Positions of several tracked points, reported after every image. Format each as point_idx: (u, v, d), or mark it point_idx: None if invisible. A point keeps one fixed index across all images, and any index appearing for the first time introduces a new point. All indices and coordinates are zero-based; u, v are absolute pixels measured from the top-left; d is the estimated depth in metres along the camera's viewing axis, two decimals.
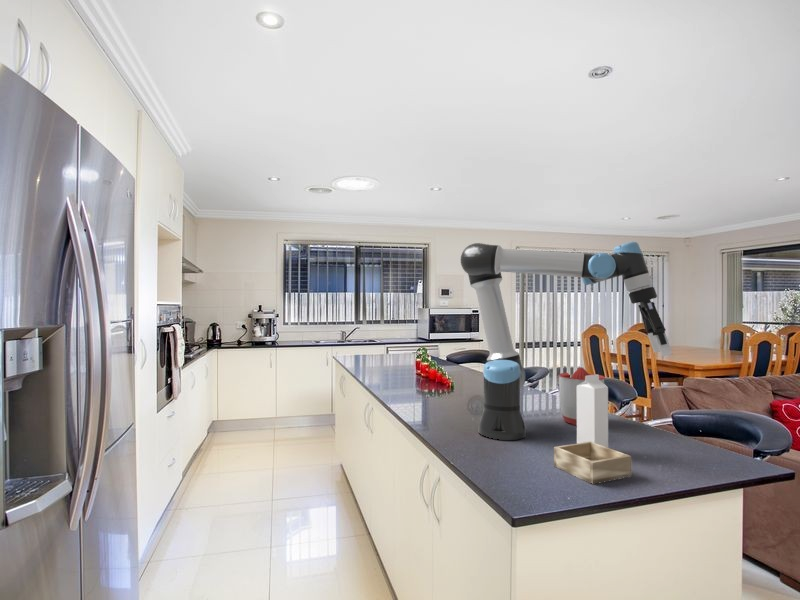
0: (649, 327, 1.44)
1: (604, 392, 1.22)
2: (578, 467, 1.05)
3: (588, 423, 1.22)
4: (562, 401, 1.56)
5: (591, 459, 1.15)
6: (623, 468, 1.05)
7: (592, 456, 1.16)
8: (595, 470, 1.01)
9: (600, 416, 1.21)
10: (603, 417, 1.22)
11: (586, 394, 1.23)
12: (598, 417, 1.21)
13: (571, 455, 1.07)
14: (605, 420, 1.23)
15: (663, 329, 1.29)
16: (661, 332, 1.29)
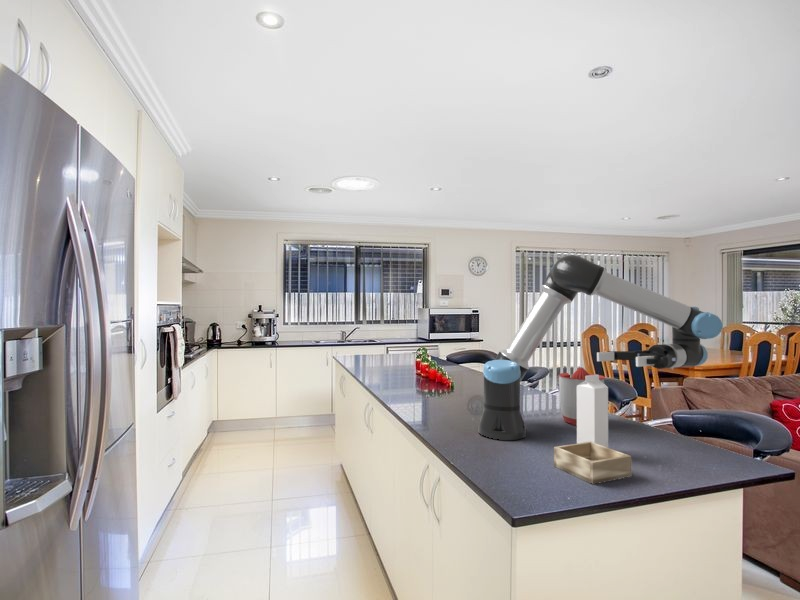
0: (620, 355, 1.37)
1: (604, 393, 1.22)
2: (578, 467, 1.05)
3: (588, 423, 1.22)
4: (562, 401, 1.56)
5: (591, 459, 1.15)
6: (623, 468, 1.05)
7: (592, 456, 1.16)
8: (595, 470, 1.01)
9: (600, 416, 1.21)
10: (604, 417, 1.22)
11: (586, 394, 1.23)
12: (598, 417, 1.21)
13: (571, 455, 1.07)
14: (605, 420, 1.23)
15: (667, 364, 1.22)
16: (662, 362, 1.23)
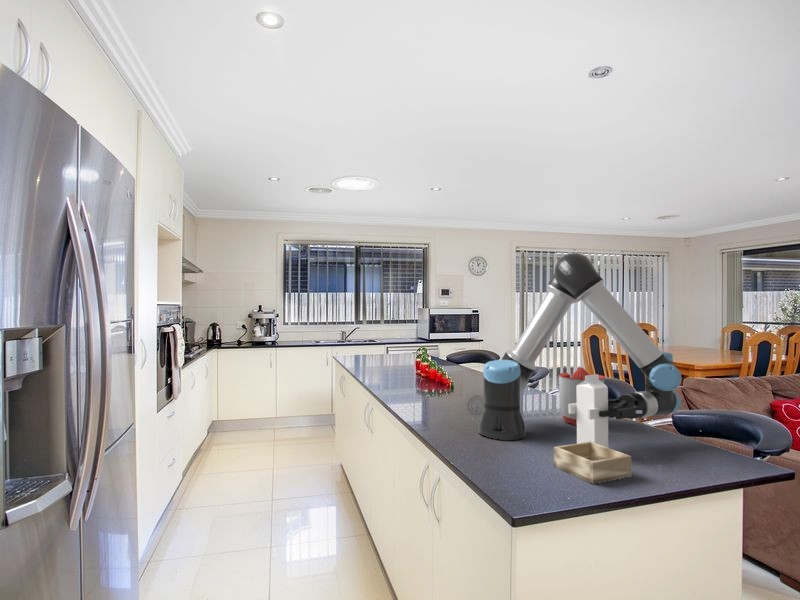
0: None
1: (604, 392, 1.22)
2: (578, 467, 1.05)
3: (588, 422, 1.22)
4: (562, 401, 1.56)
5: (591, 459, 1.15)
6: (623, 468, 1.05)
7: (592, 456, 1.16)
8: (595, 470, 1.01)
9: None
10: None
11: (586, 394, 1.23)
12: None
13: (571, 455, 1.07)
14: (605, 420, 1.23)
15: (619, 417, 1.19)
16: (615, 414, 1.20)
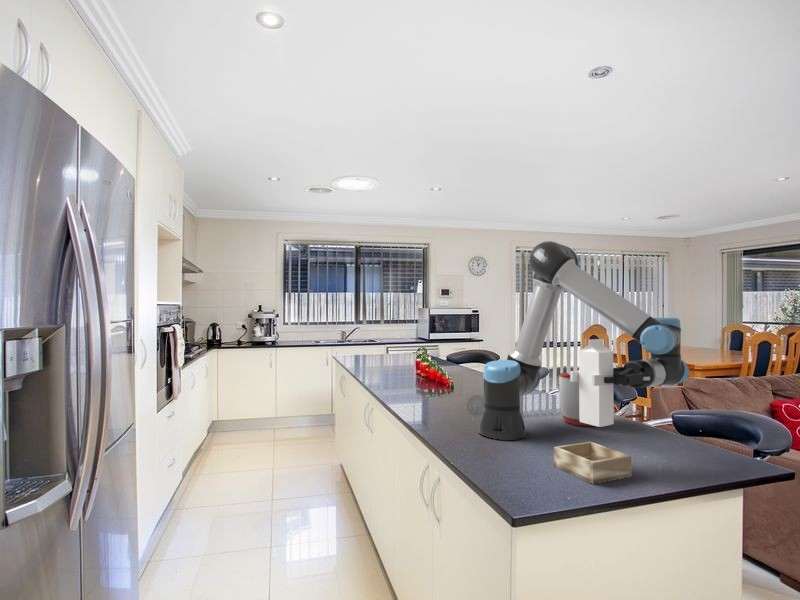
0: None
1: (609, 358, 1.13)
2: (578, 467, 1.05)
3: (592, 390, 1.12)
4: (562, 401, 1.56)
5: (591, 459, 1.15)
6: (623, 468, 1.05)
7: (592, 456, 1.16)
8: (595, 470, 1.01)
9: None
10: None
11: (589, 360, 1.13)
12: None
13: (571, 455, 1.07)
14: (611, 388, 1.13)
15: (625, 383, 1.09)
16: (621, 380, 1.10)
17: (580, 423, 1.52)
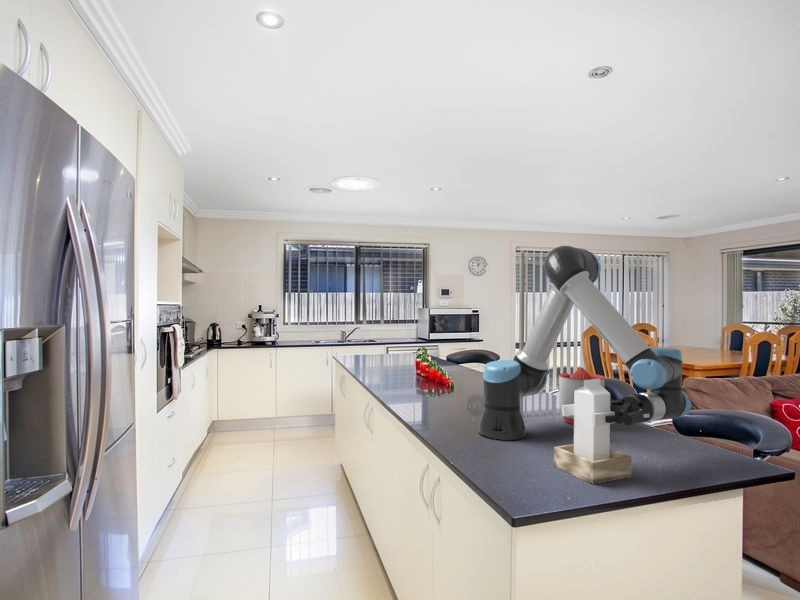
0: None
1: (605, 400, 1.08)
2: (578, 467, 1.05)
3: (586, 434, 1.07)
4: (562, 401, 1.56)
5: None
6: (623, 468, 1.05)
7: None
8: (595, 470, 1.01)
9: (600, 426, 1.07)
10: (604, 428, 1.07)
11: (585, 401, 1.08)
12: (598, 428, 1.06)
13: (571, 455, 1.07)
14: (607, 431, 1.08)
15: (628, 423, 1.03)
16: (623, 420, 1.04)
17: None
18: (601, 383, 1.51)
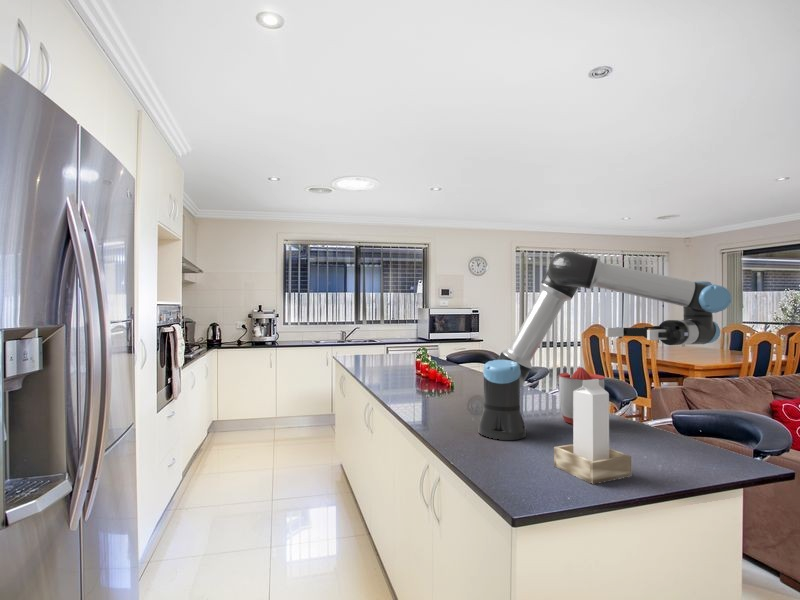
0: (629, 330, 1.32)
1: (604, 400, 1.08)
2: (578, 467, 1.05)
3: (585, 434, 1.07)
4: (562, 401, 1.56)
5: None
6: (623, 468, 1.05)
7: None
8: (595, 470, 1.01)
9: (599, 426, 1.07)
10: (604, 428, 1.07)
11: (583, 402, 1.08)
12: (597, 428, 1.06)
13: (571, 455, 1.07)
14: (606, 431, 1.08)
15: (679, 338, 1.17)
16: (674, 335, 1.17)
17: None
18: (601, 383, 1.51)
